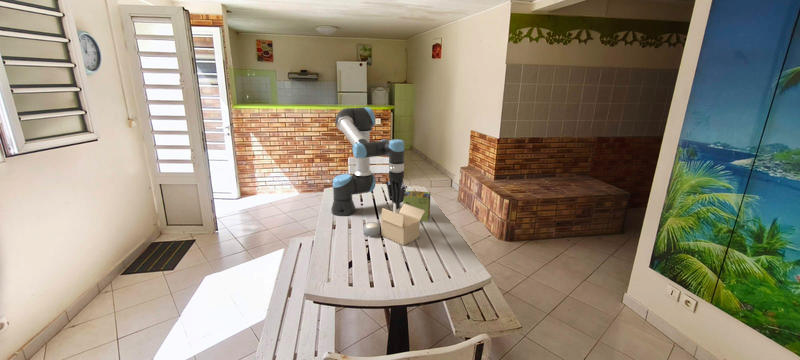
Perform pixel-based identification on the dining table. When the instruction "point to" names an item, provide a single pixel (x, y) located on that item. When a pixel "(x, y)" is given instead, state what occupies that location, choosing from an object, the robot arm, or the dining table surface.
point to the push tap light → (371, 229)
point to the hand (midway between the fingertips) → (396, 214)
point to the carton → (401, 230)
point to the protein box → (419, 202)
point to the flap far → (412, 211)
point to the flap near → (392, 217)
